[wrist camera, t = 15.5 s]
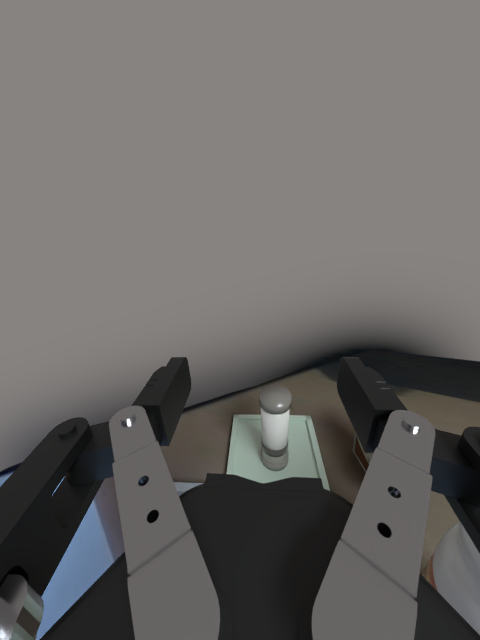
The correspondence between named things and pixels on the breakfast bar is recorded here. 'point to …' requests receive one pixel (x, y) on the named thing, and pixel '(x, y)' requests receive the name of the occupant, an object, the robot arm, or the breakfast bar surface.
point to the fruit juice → (457, 573)
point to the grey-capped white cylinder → (274, 426)
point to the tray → (300, 449)
